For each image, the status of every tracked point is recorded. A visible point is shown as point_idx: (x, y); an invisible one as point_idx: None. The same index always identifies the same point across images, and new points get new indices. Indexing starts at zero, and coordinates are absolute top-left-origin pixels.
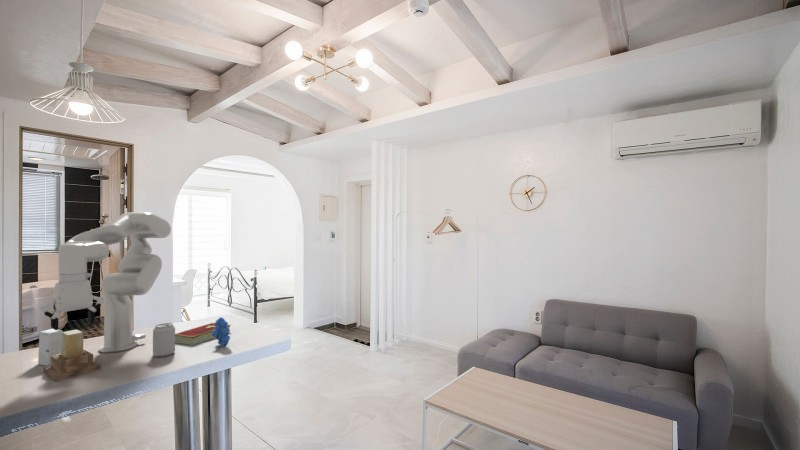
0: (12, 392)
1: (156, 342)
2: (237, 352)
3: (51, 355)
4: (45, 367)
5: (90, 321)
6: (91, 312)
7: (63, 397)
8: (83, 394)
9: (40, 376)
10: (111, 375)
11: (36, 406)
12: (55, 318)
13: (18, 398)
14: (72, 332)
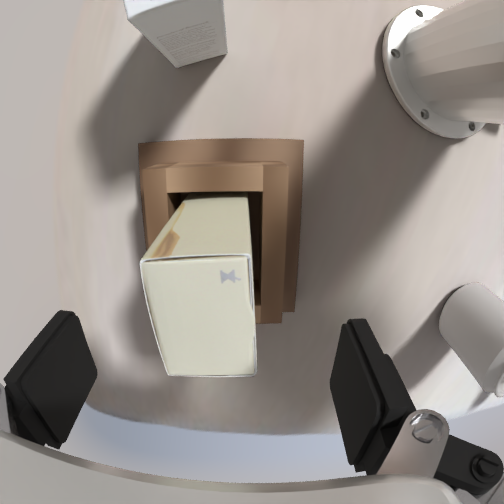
0: (68, 294)
1: (461, 354)
2: (485, 405)
3: (179, 55)
4: (145, 150)
5: (333, 388)
6: (359, 469)
7: (164, 416)
8: (198, 429)
9: (129, 198)
10: (286, 377)
11: (122, 414)
12: (42, 434)
13: None
14: (197, 339)
